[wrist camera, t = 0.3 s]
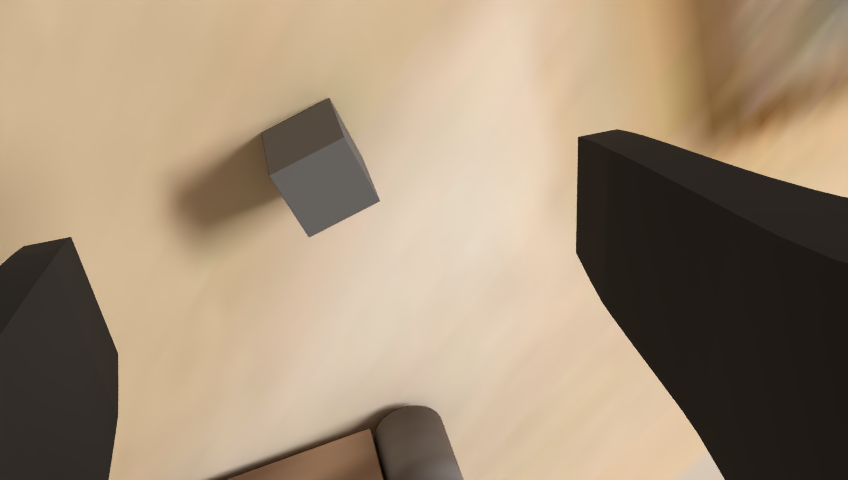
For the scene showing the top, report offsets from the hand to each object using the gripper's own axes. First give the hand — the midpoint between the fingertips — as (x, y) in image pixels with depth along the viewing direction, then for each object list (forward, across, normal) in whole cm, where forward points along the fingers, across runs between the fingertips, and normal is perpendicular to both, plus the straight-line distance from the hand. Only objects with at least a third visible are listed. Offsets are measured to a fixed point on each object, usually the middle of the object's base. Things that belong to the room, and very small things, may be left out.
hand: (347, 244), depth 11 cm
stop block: (+10, 0, +3) cm, 10 cm away
